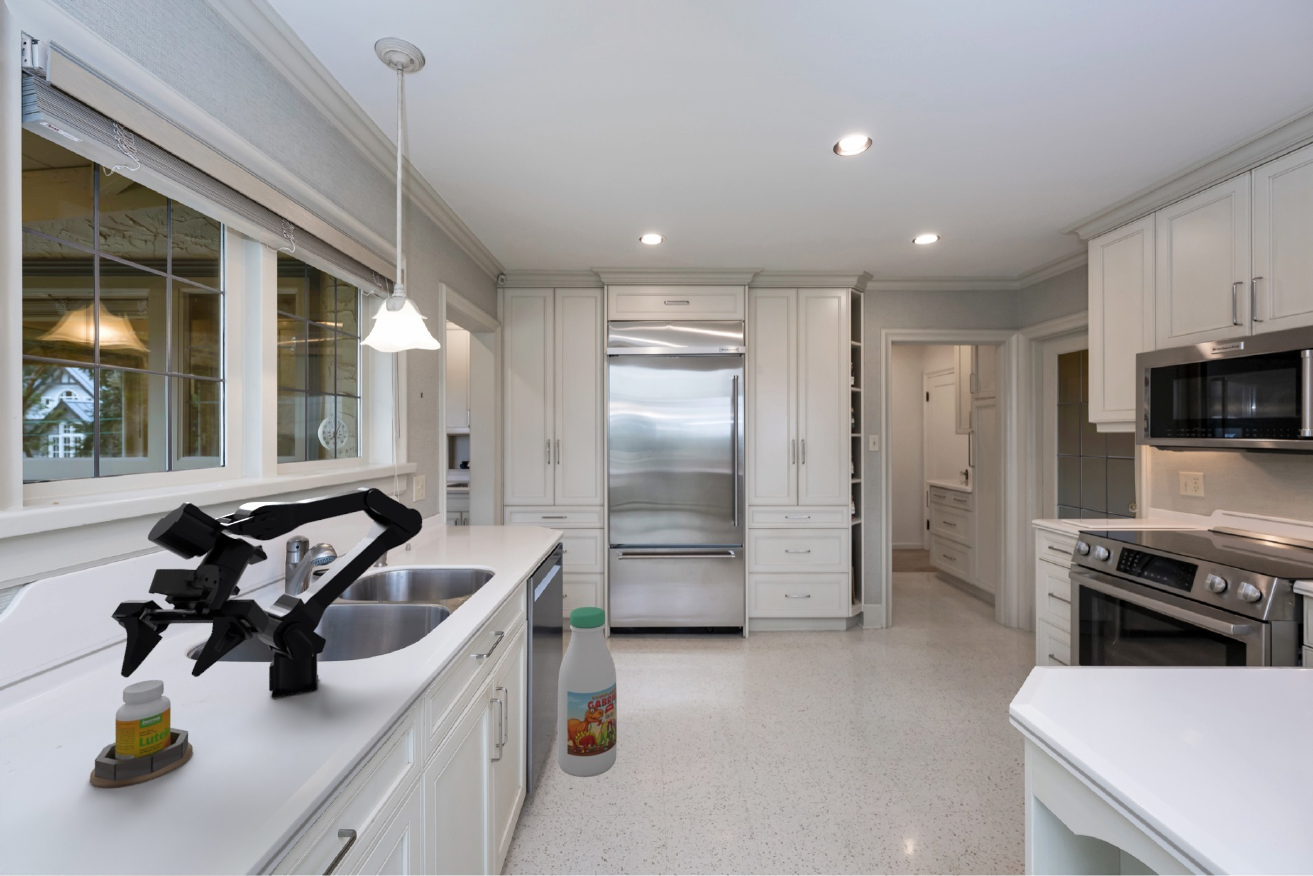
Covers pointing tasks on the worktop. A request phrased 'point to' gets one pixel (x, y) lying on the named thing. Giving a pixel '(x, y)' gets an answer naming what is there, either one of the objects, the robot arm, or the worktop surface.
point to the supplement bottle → (142, 721)
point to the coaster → (140, 763)
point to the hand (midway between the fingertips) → (159, 676)
